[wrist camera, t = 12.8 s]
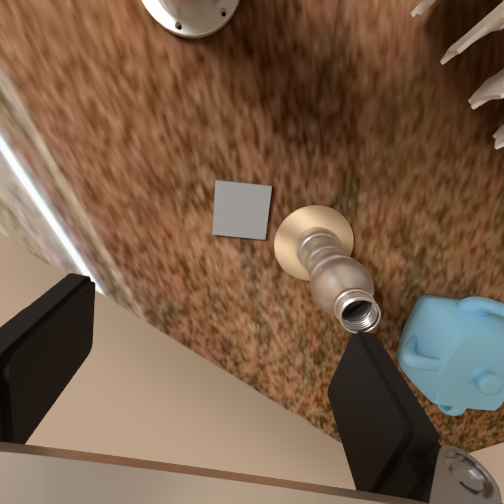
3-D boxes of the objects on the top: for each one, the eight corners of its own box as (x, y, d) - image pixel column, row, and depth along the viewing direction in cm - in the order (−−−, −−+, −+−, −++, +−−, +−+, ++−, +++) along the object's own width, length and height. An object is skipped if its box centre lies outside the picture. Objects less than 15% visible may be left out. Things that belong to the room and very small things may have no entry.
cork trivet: (288, 195, 43) (289, 196, 42) (364, 217, 44) (366, 218, 43) (264, 268, 47) (264, 270, 46) (334, 286, 48) (336, 288, 47)
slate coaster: (216, 179, 42) (215, 180, 41) (271, 185, 42) (271, 186, 42) (212, 233, 45) (212, 234, 44) (265, 238, 45) (265, 239, 44)
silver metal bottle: (316, 271, 46) (360, 359, 27) (283, 246, 45) (307, 320, 26) (345, 241, 44) (414, 312, 26) (312, 213, 43) (360, 268, 24)
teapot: (492, 341, 52) (570, 404, 39) (404, 378, 55) (451, 449, 42) (462, 258, 47) (542, 301, 34) (366, 304, 49) (406, 360, 37)
